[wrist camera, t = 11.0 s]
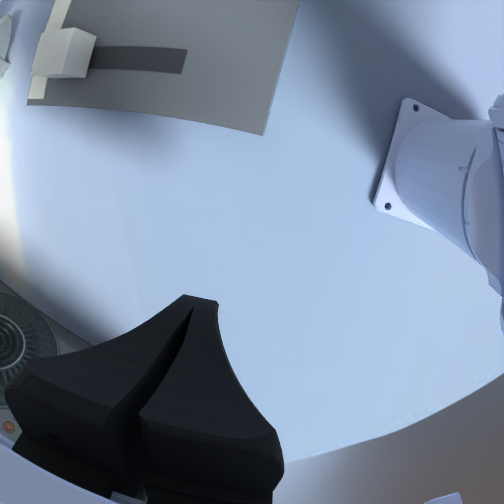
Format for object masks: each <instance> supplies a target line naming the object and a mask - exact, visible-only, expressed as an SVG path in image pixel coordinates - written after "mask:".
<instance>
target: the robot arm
mask: <svg viewBox="0 0 504 504" xmlns="http://www.w3.org/2000/svg"><path fill="white" fill-rule="evenodd" d="M414 105H416V106H417V111H416V112H415V111H414V109H413V106H414ZM488 114H489V117H490V120H453V119H451V118H449V117H447V116H445V115H444V114H442V113H440V112H438V111H436V110H434V109H432V108H430V107H428V106H426V105H424V104H422V103H420V102H418V101H416V100H414V99H411V98H405V99H403V100H402V102H401V107H400V111H399V115H398V119H397V123H396V126H395V130H394V134H393V138H392V141H391V145H390V149H389V152H388V156H387V159H386V162H385V166H384V169H383V172H382V176H381V179H380V182H379V185H378V188H377V192H376V195H375V198H374V201H373V205H374V207H375V209H376V210H378V211H380V212H383V213H386V214H389V215H392V216H395V217H398V218H401V219H403V220H406V221H409V222H412V223H415V224H417V225H420V226H423V227H425V228H428V229H431V230H433V231H436V232H438V233H440V234H441V235H442V236H444V237H445V238H447V239H448V240H449V241H451V242H452V243H453V244H455V245H456V246H457V247H459V248H460V249H461V250H463V251H464V252H465V253H466V254H468V255H469V256H470V257H472V258H473V259H474V260H475V261H477V262H478V263H479V264H480V265H482V266H483V267H484V268H485V270H486V271H487V274H488V278H489V285H490V286H491V287H492V288H493V289H494V290H495V291H496V292H497V293H498V294H500V295H501V296H502V297H503V296H504V94H502V95H498V97H497V98H496V100H495V102H494V106H492V107H490V108H489V110H488ZM386 203H389V204H390V206H389V208H387V209H385V204H386ZM218 307H219V304H218V303H217V301H214V300H209V299H204V298H199V297H194V296H189V295H185V294H184V295H182V296H181V297H179V298H178V299H177V300H175V301H174V302H173V303H171V304H170V305H169V306H167V307H166V308H165V309H163V310H162V311H161V312H159V313H158V314H156V315H155V316H153V317H152V318H151V319H149V320H147V321H146V322H144V323H143V324H141V325H139V326H138V327H136V328H134V329H133V330H131V331H129V332H127V333H125V334H123V335H121V336H119V337H116V338H114V339H112V340H109V341H107V342H104V343H101V344H98V345H96V346H93V347H90V348H87V349H83V350H80V351H76V352H72V353H67V354H63V355H57V356H50V357H42V358H34V359H29V360H28V361H27V362H26V363H25V364H24V365H23V366H22V367H21V368H20V370H19V371H18V372H17V373H16V374H15V376H14V377H13V378H12V379H11V380H10V382H9V383H8V384H7V385H6V387H5V389H4V396H5V400H6V403H7V405H8V407H9V409H10V411H11V413H12V414H13V416H14V418H15V420H16V421H17V423H18V425H19V426H20V428H21V430H22V433H21V434H20V436H19V437H18V439H17V441H16V442H15V443H14V442H12V441H11V440H9V439H8V438H6V437H5V436H3V435H2V434H0V504H272V495H273V491H274V489H275V488H276V486H277V485H278V483H279V482H280V480H281V479H282V477H283V474H284V460H283V454H282V449H281V446H280V442H279V439H278V435H277V432H276V430H275V429H274V428H273V427H272V426H271V425H270V423H269V422H268V421H267V420H266V419H265V418H264V417H263V416H262V414H261V413H260V412H259V411H258V409H257V408H256V407H255V406H254V404H253V403H252V402H251V400H250V399H249V397H248V396H247V394H246V392H245V391H244V389H243V388H242V386H241V384H240V383H239V381H238V379H237V377H236V375H235V373H234V371H233V369H232V367H231V365H230V363H229V360H228V358H227V355H226V352H225V349H224V346H223V343H222V339H221V335H220V330H219V325H218ZM500 323H501V328H502V331H503V334H504V297H503V298H502V303H501V309H500ZM146 501H147V502H146ZM424 504H462V500H461V498H460V494H459V493H453V494H450V495H447V496H443V497H439V498H436V499H432V500H430V501H428V502H425V503H424Z"/></svg>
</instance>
